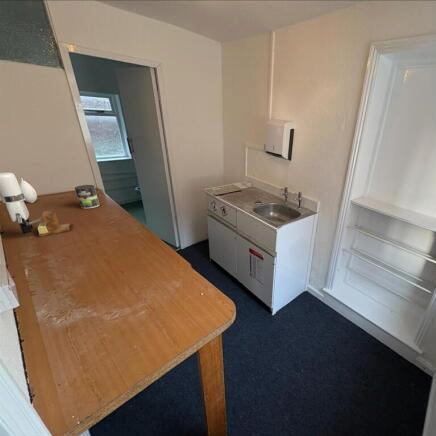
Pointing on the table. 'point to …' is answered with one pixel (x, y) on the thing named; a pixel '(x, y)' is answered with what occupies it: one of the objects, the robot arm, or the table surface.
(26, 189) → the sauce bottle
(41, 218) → the ball knob on post
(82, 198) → the coffee can
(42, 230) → the butter
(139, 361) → the table surface
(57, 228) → the wooden toy catapult
